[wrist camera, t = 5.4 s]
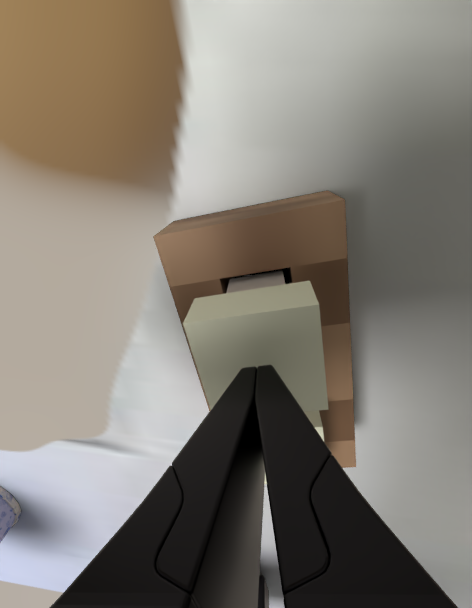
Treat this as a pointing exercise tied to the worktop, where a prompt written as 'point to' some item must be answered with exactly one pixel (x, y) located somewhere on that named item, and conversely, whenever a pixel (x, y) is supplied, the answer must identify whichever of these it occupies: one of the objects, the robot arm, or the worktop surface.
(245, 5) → the worktop surface
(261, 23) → the worktop surface
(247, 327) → the plunger
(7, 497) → the aerosol can
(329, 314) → the bar
